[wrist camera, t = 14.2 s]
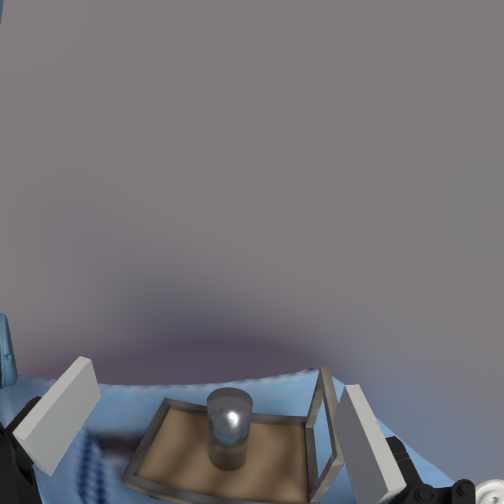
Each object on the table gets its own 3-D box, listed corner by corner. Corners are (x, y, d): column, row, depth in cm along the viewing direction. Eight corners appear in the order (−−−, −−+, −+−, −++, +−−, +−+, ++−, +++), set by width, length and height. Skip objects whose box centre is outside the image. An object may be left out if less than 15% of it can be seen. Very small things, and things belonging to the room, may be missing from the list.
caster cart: (134, 499, 23) (94, 423, 19) (169, 424, 40) (158, 341, 36) (306, 526, 21) (351, 465, 17) (303, 442, 38) (327, 361, 35)
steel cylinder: (206, 467, 27) (202, 412, 25) (213, 442, 32) (212, 384, 29) (243, 473, 27) (250, 419, 24) (247, 447, 32) (254, 390, 29)
